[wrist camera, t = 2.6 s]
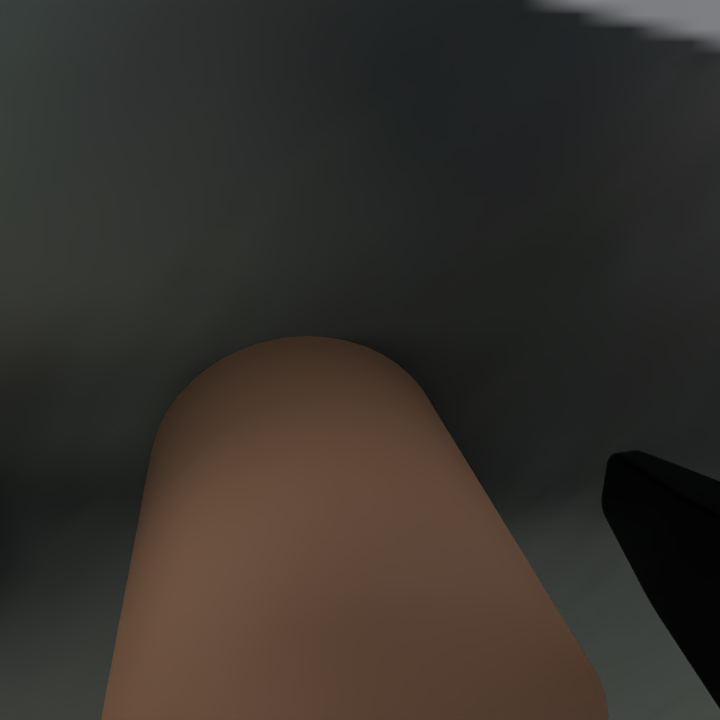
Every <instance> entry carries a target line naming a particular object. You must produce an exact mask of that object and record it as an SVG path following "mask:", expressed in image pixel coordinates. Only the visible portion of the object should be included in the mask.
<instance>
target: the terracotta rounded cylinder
mask: <svg viewBox="0 0 720 720" xmlns="http://www.w3.org/2000/svg"><path fill="white" fill-rule="evenodd" d="M101 720H608V711H607V704H606V697H605V693H604V691H603V688H602V685H601V682H600V680H599V677H598V675H597V673H596V671H595V670H594V668H593V667H592V665H591V663H590V662H589V660H588V658H587V657H586V655H585V653H584V652H583V650H582V649H581V647H580V645H579V644H578V642H577V640H576V639H575V637H574V636H573V634H572V632H571V631H570V629H569V627H568V626H567V624H566V623H565V621H564V619H563V618H562V616H561V614H560V613H559V611H558V609H557V608H556V606H555V605H554V603H553V601H552V600H551V598H550V596H549V595H548V593H547V592H546V590H545V588H544V587H543V585H542V583H541V582H540V580H539V579H538V577H537V575H536V574H535V572H534V570H533V569H532V567H531V565H530V564H529V562H528V561H527V559H526V557H525V556H524V554H523V552H522V551H521V549H520V548H519V546H518V544H517V543H516V541H515V539H514V538H513V536H512V535H511V533H510V531H509V530H508V528H507V526H506V525H505V523H504V522H503V520H502V518H501V517H500V515H499V513H498V512H497V510H496V508H495V507H494V505H493V504H492V502H491V500H490V499H489V497H488V495H487V494H486V492H485V491H484V489H483V487H482V486H481V484H480V482H479V481H478V479H477V478H476V476H475V474H474V473H473V471H472V469H471V468H470V466H469V464H468V463H467V461H466V460H465V458H464V456H463V455H462V453H461V451H460V450H459V448H458V447H457V445H456V443H455V442H454V440H453V438H452V437H451V435H450V434H449V432H448V430H447V429H446V427H445V425H444V424H443V422H442V420H441V419H440V417H439V416H438V414H437V412H436V411H435V409H434V407H433V406H432V404H431V403H430V401H429V399H428V398H427V396H426V395H425V393H424V391H423V390H422V388H421V387H420V386H419V385H418V383H417V382H416V381H415V380H414V379H413V378H412V376H411V375H410V374H408V373H407V372H406V371H405V370H404V369H403V368H401V367H400V366H399V365H398V364H397V363H395V362H394V361H392V360H390V359H389V358H387V357H386V356H384V355H383V354H381V353H379V352H376V351H374V350H372V349H370V348H368V347H366V346H363V345H360V344H356V343H353V342H350V341H347V340H341V339H335V338H330V337H317V336H298V337H285V338H280V339H275V340H270V341H265V342H261V343H258V344H255V345H252V346H249V347H246V348H243V349H241V350H239V351H237V352H235V353H232V354H230V355H228V356H226V357H224V358H222V359H221V360H219V361H218V362H216V363H214V364H213V365H211V366H210V367H208V368H207V369H205V370H204V371H203V372H202V373H201V374H199V375H198V376H197V377H196V378H194V379H193V380H192V381H191V382H190V383H189V384H188V385H187V386H186V387H185V388H184V389H183V390H182V392H181V393H180V394H179V395H178V396H177V397H176V399H175V400H174V402H173V403H172V404H171V406H170V407H169V409H168V410H167V412H166V414H165V416H164V418H163V420H162V422H161V423H160V425H159V427H158V430H157V433H156V436H155V439H154V442H153V446H152V451H151V456H150V461H149V467H148V472H147V477H146V483H145V488H144V493H143V499H142V504H141V509H140V515H139V520H138V525H137V531H136V536H135V541H134V546H133V552H132V557H131V562H130V568H129V573H128V578H127V584H126V589H125V594H124V600H123V605H122V610H121V616H120V621H119V626H118V632H117V637H116V642H115V647H114V653H113V658H112V663H111V669H110V674H109V679H108V685H107V690H106V695H105V701H104V706H103V711H102V717H101Z"/></svg>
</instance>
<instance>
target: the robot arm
mask: <svg viewBox="0 0 720 720" xmlns="http://www.w3.org/2000/svg"><path fill="white" fill-rule="evenodd" d="M602 509H603V512H604V515H605V517H606V519H607V521H608V523H609V525H610V527H611V529H612V531H613V533H614V535H615V537H616V538H617V540H618V542H619V544H620V546H621V548H622V550H623V552H624V554H625V556H626V558H627V560H628V561H629V563H630V565H631V567H632V569H633V571H634V573H635V575H636V577H637V579H638V581H639V583H640V584H641V586H642V588H643V590H644V592H645V594H646V595H647V597H648V599H649V601H650V603H651V604H652V606H653V607H654V609H655V611H656V612H657V614H658V615H659V617H660V619H661V620H662V622H663V623H664V625H665V626H666V628H667V629H668V631H669V632H670V634H671V635H672V637H673V638H674V640H675V641H676V643H677V645H678V646H679V648H680V649H681V651H682V652H683V654H684V655H685V657H686V658H687V660H688V661H689V663H690V664H691V666H692V667H693V669H694V670H695V672H696V673H697V675H698V676H699V678H700V679H701V681H702V683H703V684H704V686H705V687H706V689H707V690H708V692H709V693H710V695H711V696H712V698H713V699H714V701H715V702H716V704H717V705H718V707H719V708H720V481H717V480H715V479H712V478H710V477H707V476H704V475H702V474H699V473H697V472H694V471H691V470H689V469H686V468H684V467H681V466H679V465H676V464H673V463H671V462H668V461H666V460H663V459H660V458H658V457H655V456H653V455H650V454H647V453H645V452H642V451H638V450H633V451H626V452H618V453H614V454H612V455H611V456H610V457H609V459H608V462H607V467H606V474H605V480H604V486H603V492H602Z"/></svg>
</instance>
